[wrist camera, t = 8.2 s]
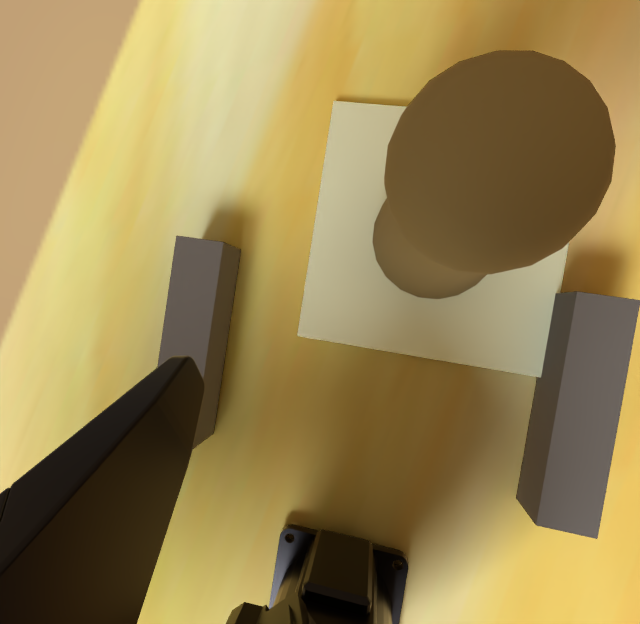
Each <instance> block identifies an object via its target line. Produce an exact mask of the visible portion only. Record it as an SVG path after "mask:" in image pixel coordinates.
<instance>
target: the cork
mask: <svg viewBox="0 0 640 624" xmlns="http://www.w3.org/2000/svg"><path fill="white" fill-rule="evenodd" d="M615 147H616V146H615V139H614V135H613V130H612V126H611V121H610V117H609V113H608V108H607V106H606V105H605V103H604V102H603V100H602V99H601V97H600V96H599V94H598V92H597V91H596V89H595V88H594V86H593V85H592V83H591V82H590V80H588V79H587V78H586V77H584V76H583V75H582V74H580V73H579V72H578V71H576V70H575V69H574V68H572V67H571V66H570V65H568V64H567V63H566V62H565V61H562V60H559V59H556V58H553V57H550V56H547V55H544V54H541V53H538V52H535V51H495V52H491V53H487V54H484V55H480V56H477V57H474V58H470V59H467V60H463V61H460V62H458V63H456V64H455V65H453V66H452V67H450V68H448V69H447V70H445V71H444V72H442V73H441V74H439V75H438V76H436V77H434V78H433V79H431V80H430V81H429V82H428V83H427V84H426V85H425V87H424V88H423V89H422V90H421V91H420V92H419V93H418V95H417V96H416V97H415V98H414V99H413V100H412V102H411V103H410V104H409V105H408V106H407V108H406V109H405V110H404V112H403V113H402V115H401V116H400V119H399V121H398V123H397V126H396V128H395V130H394V132H393V135H392V137H391V139H390V141H389V144H388V148H387V157H386V166H385V175H384V186H385V190H386V195H387V198H386V200H385V202H384V203H383V205H382V207H381V209H380V212H379V214H378V216H377V218H376V220H375V223H374V232H373V241H372V242H373V247H374V252H375V256H376V261H377V262H378V264H379V266H380V268H381V269H382V271H383V273H384V274H385V276H386V277H387V278H388V279H389V280H390V281H391V282H392V283H394V284H395V285H396V286H397V287H398V288H399V289H400V290H403V291H405V292H407V293H410V294H412V295H414V296H416V297H420V298H430V299H442V298H447V297H452V296H457V295H459V294H461V293H463V292H465V291H467V290H468V289H470V288H472V287H474V286H476V285H477V284H478V283H479V282H480V281H481V280H482V279H483V278H484V277H485V276H486V275H487V274H495V273H500V272H504V271H509V270H514V269H518V268H523V267H527V266H531V265H533V264H535V263H537V262H539V261H541V260H542V259H544V258H546V257H548V256H550V255H551V254H553V253H555V252H557V251H559V250H560V249H562V248H564V247H565V246H566V245H567V243H568V242H569V241H570V240H571V239H572V238H573V237H574V236H575V235H576V234H577V233H578V232H579V231H580V230H581V229H582V228H583V227H584V226H585V225H586V224H587V223H588V222H589V220H590V219H591V218H592V217H593V216H594V215H595V214H596V212H597V210H598V208H599V206H600V204H601V202H602V200H603V198H604V195H605V193H606V191H607V189H608V187H609V185H610V183H611V180H612V172H613V164H614V155H615Z"/></svg>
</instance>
